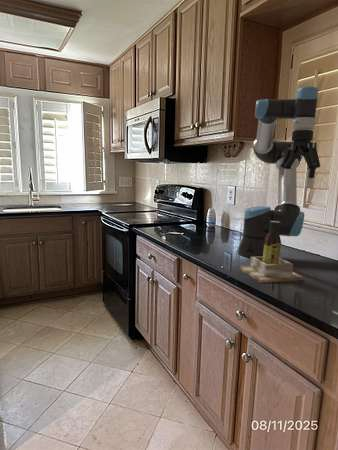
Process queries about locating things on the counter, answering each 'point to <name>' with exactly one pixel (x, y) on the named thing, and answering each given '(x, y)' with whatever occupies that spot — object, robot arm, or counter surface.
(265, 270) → the caddy board
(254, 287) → the counter surface
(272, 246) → the sauce bottle
